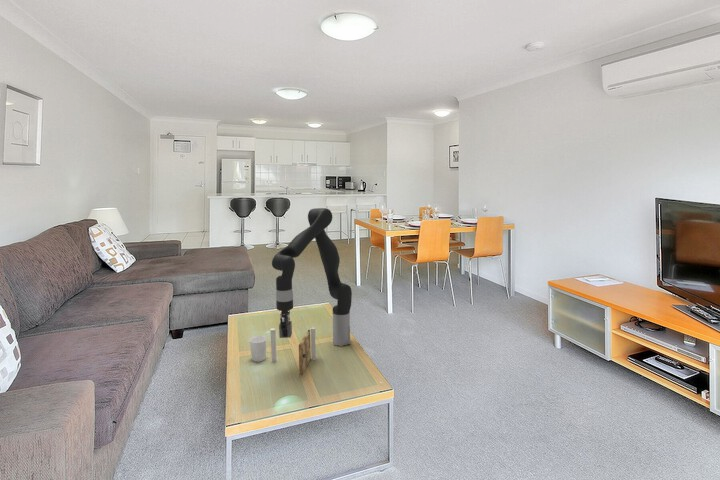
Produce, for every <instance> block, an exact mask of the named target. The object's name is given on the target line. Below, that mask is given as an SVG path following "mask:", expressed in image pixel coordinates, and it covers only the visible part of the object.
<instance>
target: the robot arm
mask: <svg viewBox="0 0 720 480" xmlns="http://www.w3.org/2000/svg"><path fill="white" fill-rule="evenodd" d="M307 220H308V224H309V227H307V228H305V229H304V230H303V231H301V232H300V233H298V234H296V235H295V236H294V237H293V239H292V240H291V241H290V242H289V244H288V245H287V246H285V247H284V248H282V249H281V250H279V252H277V253H276V254H275V255H274V256H273V257H272V260H271V266H272V268H273V269H274V270H276V271H282V273H281V275H278V276H277V277H276V279H275V285H276V286H275V289H276V292H275V305H276V307H275V308H276V310H277V311H279V312H280V311H281V312H280V315H279V317H280V318H279V320H280V322H281V329H282V336H283V337H287V336H288V334H287V328H288V327H287V324H288V323H289V321H291V312H290V311H291V310H292V309H293V308H294V293H293V281H292V280H293V277H294V272H295V268H296V262H295V258H298V257H300V256H301V255H302V253H303V252H304V250H305V249H306V248H307V247H308V245H310V243H311V242H313V240H314V239H315V243H316V245H317V249H318V252H319V256H320V260H321V263H322V266H323V269H324V272H325V277H326V281H327V286H328V292H329V295H330V297H331V298H333V299H335V300H336V301H337V304H336V305H334V306H333V307H332V344H333V345H334V344H335V346H337V345H339V346H338V347H344V346H343V345H346V346H348V345H347V344H350V345H351V320H350V319H351V317H350V316H351V313H350V312H351V307H352V297H353V292H352V288H351V286H350V285H349V284H346V283H343V282H342V281H341V278H340V276H339V267H340V260H341V259H340V255H339V252H338V248H337V246H336V245H335V243H334V242H333V240H331V238H330V237H329V235H328V234H327V232H326V230H325V229H326V228H328V226H330V224H331V223H332V221H333V213H332V211H331V210H330V209H329V208H323V207H320V208H319V207H318V208H311V209H310V210H309V211H308V213H307ZM286 321H287V322H286ZM280 322H279V323H280ZM283 325H285V326H284V327H283Z"/></svg>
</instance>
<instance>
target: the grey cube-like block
mask: <svg viewBox="0 0 720 480" xmlns="http://www.w3.org/2000/svg"><path fill="white" fill-rule="evenodd" d="M286 322H287V321H286ZM284 326H285V325H283V327H284ZM287 327H288V328H287V334H288V336H287V337H283V336H282V329H281V322H279V324H278V335H279V336H278V337H279V338H280V339H286V338H289V339H291V337H292V335H293V328H292V327H293V323H292V320H290V321H289V323H288V324H287Z"/></svg>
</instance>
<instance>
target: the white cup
mask: <svg viewBox="0 0 720 480" xmlns="http://www.w3.org/2000/svg"><path fill="white" fill-rule="evenodd" d="M267 339H268V338H267V337H266V336H263V335H262V336H261V335H260V336H254V337H253V336H252V338H250V339H249V343H250V353H251V354H250V355H251V360H252V361H253V362H256V363H257V362H264V361H265V360H266V359H267V348H268V347H267V346H268V345H267Z"/></svg>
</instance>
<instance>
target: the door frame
mask: <svg viewBox="0 0 720 480" xmlns="http://www.w3.org/2000/svg"><path fill="white" fill-rule="evenodd" d="M276 333H277V331H276V328H274V327H273V328H270V350H271V362H277V337H276V335H277V334H276ZM316 347H317V346H316V327H312V326H311V327H310V352H311V359H310V361H316V359H317V357H316V356H317V355H316V353H317V351H316Z"/></svg>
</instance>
